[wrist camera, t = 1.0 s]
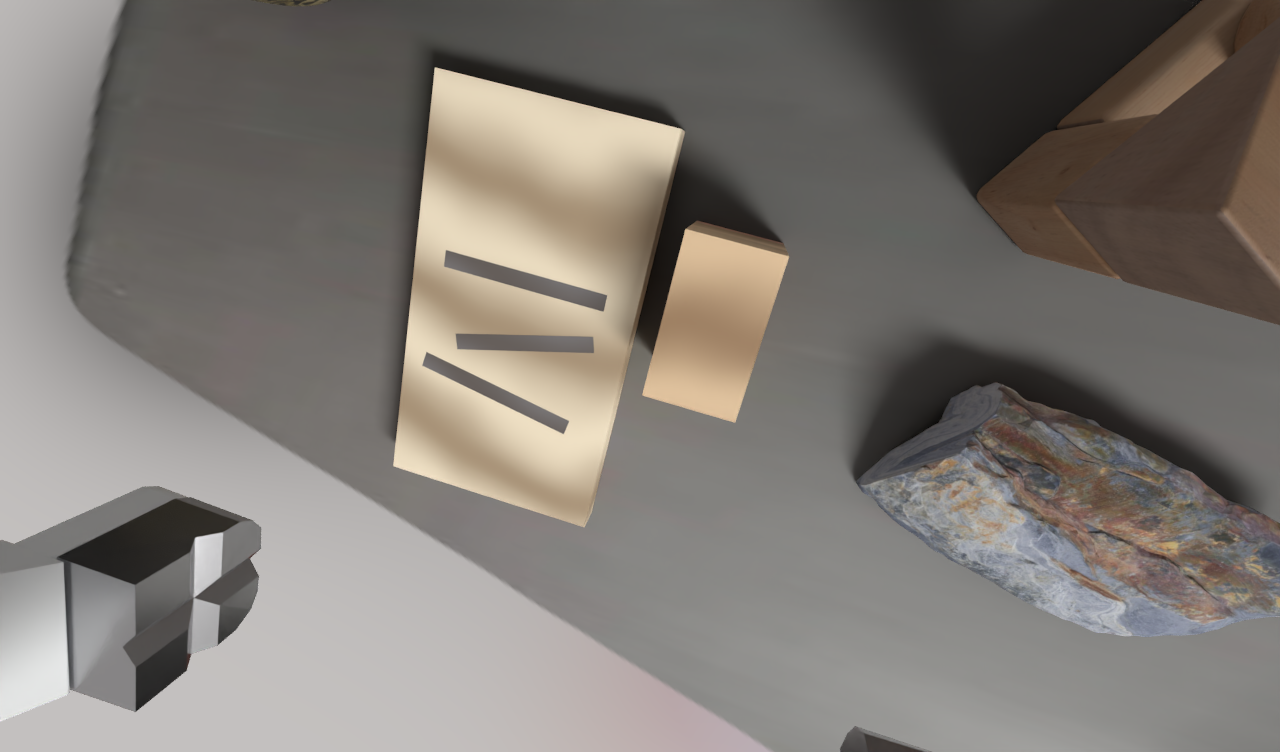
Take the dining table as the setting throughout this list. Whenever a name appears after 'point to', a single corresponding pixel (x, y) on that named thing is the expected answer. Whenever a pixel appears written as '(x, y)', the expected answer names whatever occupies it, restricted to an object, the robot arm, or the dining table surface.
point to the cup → (294, 2)
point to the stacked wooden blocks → (1167, 167)
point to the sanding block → (715, 319)
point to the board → (527, 289)
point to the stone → (1079, 519)
